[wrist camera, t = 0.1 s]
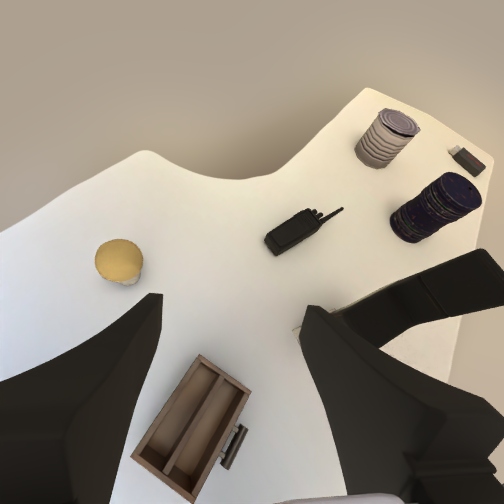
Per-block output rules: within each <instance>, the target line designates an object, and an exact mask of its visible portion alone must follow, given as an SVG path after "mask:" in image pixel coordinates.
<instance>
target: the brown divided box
mask: <svg viewBox="0 0 504 504" xmlns="http://www.w3.org/2000/svg"><path fill="white" fill-rule="evenodd" d="M251 392H252V391H250V390H249V389H248V388H246V387H245V386H243V385H242V384H241V383H239V382H238V381H236V380H235V379H234V378H232V377H231V376H229V375H228V374H227V373H225V372H224V371H222V370H221V369H220V368H218V367H217V366H215V365H214V364H212V363H211V362H210V361H208V360H207V359H205V358H204V357H203V356H201V355H200V354H199V355H198V357H197V358H196V360H195V361H194V363H193V364H192V366H191V367H190V369H189V370H188V371H187V373H186V374H185V376H184V377H183V379H182V380H181V382H180V383H179V385H178V386H177V388H176V389H175V391H174V392H173V394H172V395H171V397H170V398H169V400H168V401H167V403H166V404H165V406H164V407H163V409H162V410H161V412H160V413H159V415H158V416H157V417H156V419H155V420H154V422H153V423H152V425H151V426H150V428H149V429H148V431H147V432H146V434H145V435H144V437H143V438H142V440H141V441H140V443H139V444H138V446H137V447H136V449H135V450H134V452H133V453H132V455H131V456H130V457H131V458H132V459H133V460H135V461H136V462H137V463H139V464H140V465H141V466H143V467H144V468H145V469H147V470H148V471H149V472H151V473H152V474H153V475H154V476H156V477H157V478H158V479H160V480H161V481H162V482H164V483H165V484H166V485H168V486H169V487H170V488H172V489H173V490H174V491H176V492H177V493H178V494H180V495H181V496H182V497H184V498H185V499H186V500H188V501H189V502H190V503H191V504H194V502H195V500H196V498H197V496H198V494H199V492H200V490H201V489H202V487H203V485H204V483H205V481H206V479H207V477H208V475H209V473H210V471H211V469H212V467H213V465H214V463H215V461H216V460H217V458H218V456H220V457H221V458H222V460H221V462H220V464H221V465H222V466H223V467H224V468H225V469H227V470H229V469H230V467H231V465H232V463H233V461H234V459H235V457H236V455H237V452H238V450H239V448H240V446H241V444H242V442H243V440H244V438H245V436H246V434H247V432H248V429H247V428H246V427H245V426H243V425H242V424H240V425H239V427H236V426H235V423H236V421H237V419H238V417H239V415H240V413H241V411H242V409H243V407H244V405H245V404H246V402H247V400H248V398H249V395H250V394H251ZM232 430H233V431H234V432H235V435H234V436H233V438H232V440H231V442H230V444H229V446H228V448H227V450H226V452H225V453H224V452H223V451H222V448H223V446H224V444H225V442H226V440H227V438H228V436H229V434H230V433H231V431H232Z"/></svg>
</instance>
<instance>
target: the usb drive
mask: <svg viewBox="0 0 504 504" xmlns="http://www.w3.org/2000/svg"><path fill="white" fill-rule="evenodd" d="M449 153H451V154H452V155H453V156H452V157H453V159H454V160H455V161H456V162H458V163H459V164H460V165H461V166H462V167H463V168H464V169H466V170H467V171H468V172H469V173H470V174H471V175H473V176H474V177H476V176H477V175H479V174H480V173H481V172H482V171H483V170H484V169H485V168H486V166H485V165H484V164H483V163H481V162H480V161H479V160H478V159H477V158H475V157H474V156H473V155H472V154H471V153H470V152H468V151H467V150H466V149H465V148H462V149H461V148H460V147H459V146H458V145H457V146H456V147H454V148H453V149H452V150H451V151H449Z"/></svg>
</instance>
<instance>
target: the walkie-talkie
mask: <svg viewBox="0 0 504 504" xmlns="http://www.w3.org/2000/svg"><path fill="white" fill-rule="evenodd" d="M343 209H344V208H343V207H341V208H340V209H338V210H336V211H334V212H332V213H331V214H329V215H327V216H325V217H323V218H321V217H322V216H323V213H319V214H317V210H316V209H314V210H312V211H311V209H309V208H307V209H305V210H302V211H300V212H298V213H297V214H295V215H294V216H293V217H292V218H290V219H289V220H287V221H285V222H284V223H282V224H281V225H279V226H278V227H276V228H275V229H273V230H272V231H270V232H269V233H267V235H266V237H265V239H264V241H265V242H266V244H267V245H268V246H269V248H270V249H271V250H272V251H273V253H274V254H275V255H276V256H278V255H280V254H281V253H283V252H285V251H286V250H288V249H290V248H291V247H293V246H295V245H296V244H298V243H300V242H301V241H303V240H304V239H306V238H307V237H309V236H311V235H312V234H314V233H315V232H317V231H318V229H319V228H320V227H321V226H322V224H323V223H325V222H326V221H327V220H329V219H330V218H332V217H333V216H335V215H336V214H338V213H339V212H341V211H342V210H343ZM316 214H317V215H316ZM319 218H321V219H320V220H319Z"/></svg>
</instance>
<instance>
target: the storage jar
mask: <svg viewBox="0 0 504 504" xmlns="http://www.w3.org/2000/svg"><path fill="white" fill-rule="evenodd" d="M481 204H482V198H481V195H480V193H479V191H478V190H477V188H476V187H475V186H474V185H473V184H472V183H471V182H470V181H469V180H468V179H466V178H465V177H463V176H461V175H459V174H457V173H453V172H446V173H444V174H443V175H442V176H440V177H439V178H438V179H436V180H435V181H433V182H432V183H431V184H429V185H428V186H427V187H425V188H424V189H423V190H422V191H421V193H420V194H419V195H418V196H416V197H415V198H414V199H412V200H410V201H408V202H407V203H406V204H404V205H402V206H401V207H400V208H399V209H398V210H397V211H396V212H394V213H393V214H392V215H391V217H390V225H391V227H392V229H393V231H394V232H395V234H396V235H397V236H398V237H400V238H401V239H402V240H404V241H406V242H409V243H417V242H419V241H421V240H422V239H424V238H427V237H429V236H431V235H432V234H433V233H435V232H437V231H438V230H439V229H440V228H442V227H443V226H445V225H447V224H448V223H452V222H454V221H457V220H458V219H460V218H462V217H464V216H466V215H467V214H468V213H470V212H472V211H473V210H475V209H477V208H479V207H480V206H481Z"/></svg>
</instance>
